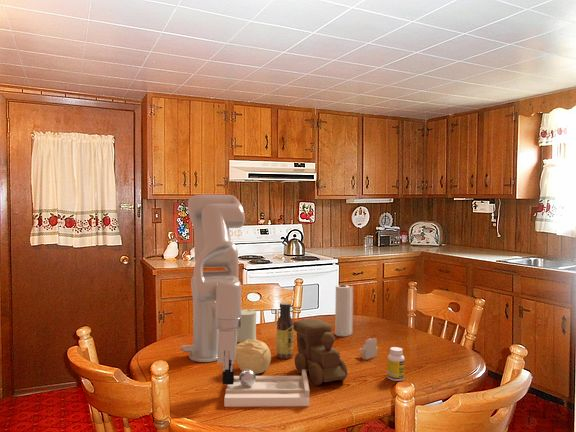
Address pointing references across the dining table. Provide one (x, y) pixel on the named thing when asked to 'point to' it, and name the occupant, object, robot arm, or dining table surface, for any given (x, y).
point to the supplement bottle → (395, 364)
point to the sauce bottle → (284, 332)
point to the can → (247, 326)
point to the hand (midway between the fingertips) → (228, 383)
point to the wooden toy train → (318, 352)
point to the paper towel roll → (344, 310)
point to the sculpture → (253, 356)
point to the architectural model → (369, 349)
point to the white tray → (269, 392)
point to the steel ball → (247, 378)
